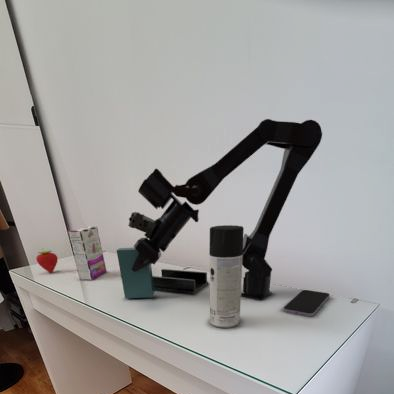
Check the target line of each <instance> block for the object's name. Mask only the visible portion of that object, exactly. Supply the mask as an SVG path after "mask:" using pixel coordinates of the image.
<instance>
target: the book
mask: <svg viewBox="0 0 394 394" xmlns="http://www.w3.org/2000/svg"><path fill="white" fill-rule="evenodd" d="M138 253H139V252H138V251H137V250H136V249H135V248H134V247H119V248H118V249H116V256H117V260H118V267H119V272H120V278H121V283H122V290H123V294H124V298H125V299H139V298H140V299H141V298H144V299H145V298H154V296H155V294H156V293H155V292H156V291H154V283H153V276H154V275H153V268H152V264H150V265H148V266H146V267H144V268H142V269H140V270H138V271H136V272H134V271H132V267H133V265H134V263H135V261H136V258H137V256H138Z"/></svg>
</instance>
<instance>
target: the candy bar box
mask: <svg viewBox="0 0 394 394" xmlns="http://www.w3.org/2000/svg"><path fill="white" fill-rule="evenodd" d="M67 233H68V237H69V240H70V245H71V248H72V252H73V255H74V259H75V263H76V267H77V271H78V275H79V278H80V280H81V281H93V280H95V279H97V278H98V277H100V276H103V275H104V274H106V273H107V272H108V271H107V267H106V263H105V259H104V257H105V256H104V253H103V248H102V244H101V238H100V234H99V230H98V226H91V225H90V226H83V227H79V228H76V229H72V230H68V232H67Z"/></svg>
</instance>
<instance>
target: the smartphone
mask: <svg viewBox="0 0 394 394" xmlns="http://www.w3.org/2000/svg"><path fill="white" fill-rule="evenodd" d="M330 297H331V296H330V293H328V292H324V291H323V292H322V291H318V290H317V291H316V290H309V289H302V290H301V291H300V292H298V293H297V295H295V296H294V297H293V298H292V299H291V300H290V301H289V302H287V303H286V304H285V305H284V307H283V309H282V311H283V312H285V313H288V314H293V315H299V316H304V317H314V316H315V314H316V313H318V311H319V310H320V309H321V307H323V305H324V304H325V303H326V302H327V301H328V299H329V298H330Z"/></svg>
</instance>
